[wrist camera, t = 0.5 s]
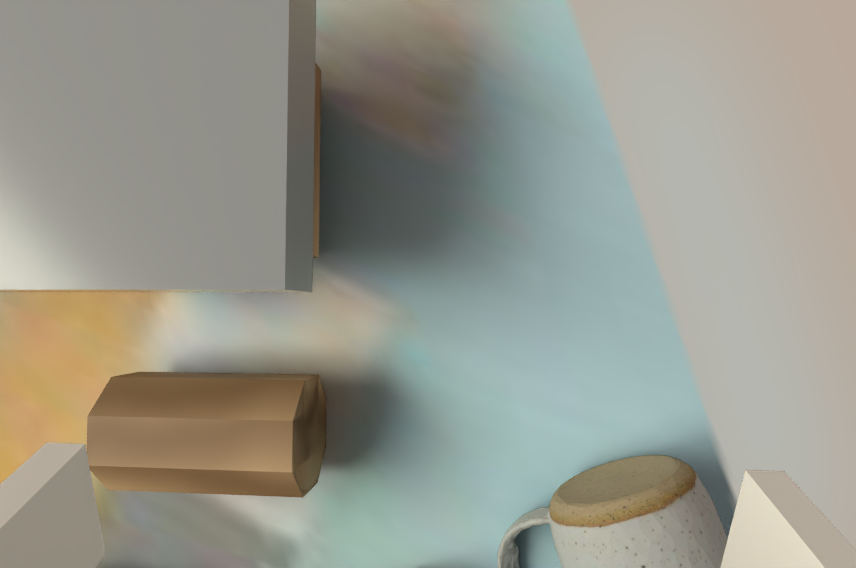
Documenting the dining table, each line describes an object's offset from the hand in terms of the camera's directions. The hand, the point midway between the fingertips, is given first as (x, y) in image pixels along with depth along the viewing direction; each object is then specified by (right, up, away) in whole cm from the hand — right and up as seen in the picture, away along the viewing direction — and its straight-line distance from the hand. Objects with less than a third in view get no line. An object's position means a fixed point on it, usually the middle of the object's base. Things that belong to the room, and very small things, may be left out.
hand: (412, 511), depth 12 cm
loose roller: (-10, -3, +20) cm, 23 cm away
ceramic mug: (+9, -9, +18) cm, 22 cm away
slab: (-13, +11, +15) cm, 23 cm away
